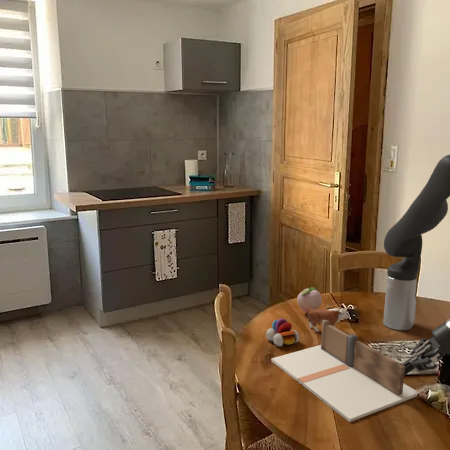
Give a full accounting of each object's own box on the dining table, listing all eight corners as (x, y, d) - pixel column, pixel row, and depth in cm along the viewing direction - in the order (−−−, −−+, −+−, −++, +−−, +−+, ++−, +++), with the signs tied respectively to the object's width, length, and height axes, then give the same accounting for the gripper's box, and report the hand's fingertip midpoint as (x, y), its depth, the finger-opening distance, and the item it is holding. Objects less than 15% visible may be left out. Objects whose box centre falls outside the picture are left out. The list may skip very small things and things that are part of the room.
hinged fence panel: (353, 366, 131) (354, 341, 129) (356, 365, 131) (358, 340, 130) (398, 395, 117) (401, 367, 116) (402, 394, 118) (404, 366, 116)
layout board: (333, 343, 147) (335, 315, 145) (418, 395, 119) (422, 360, 117) (271, 361, 136) (272, 330, 134) (349, 422, 109) (352, 384, 107)
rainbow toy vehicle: (279, 351, 142) (280, 328, 141) (262, 338, 151) (263, 316, 149) (302, 345, 146) (303, 323, 145) (284, 332, 155) (285, 311, 153)
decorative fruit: (315, 320, 164) (316, 292, 162) (293, 315, 168) (294, 288, 166) (325, 311, 172) (326, 285, 170) (303, 306, 176) (305, 280, 174)
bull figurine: (347, 335, 153) (349, 311, 151) (305, 331, 155) (306, 308, 154) (347, 329, 157) (348, 306, 155) (306, 325, 160) (307, 303, 158)
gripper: (443, 311, 122) (388, 349, 128) (451, 333, 109) (391, 373, 115) (463, 333, 121) (408, 369, 127) (474, 357, 109) (412, 396, 115)
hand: (400, 371), depth 121 cm, fingers closed
